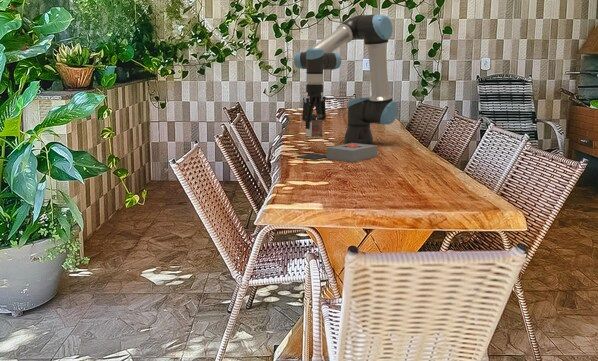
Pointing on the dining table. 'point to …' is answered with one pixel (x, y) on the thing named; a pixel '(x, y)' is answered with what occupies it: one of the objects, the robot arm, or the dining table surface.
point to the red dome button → (352, 145)
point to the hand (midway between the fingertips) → (314, 135)
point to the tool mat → (313, 156)
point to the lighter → (316, 126)
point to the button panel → (352, 152)
